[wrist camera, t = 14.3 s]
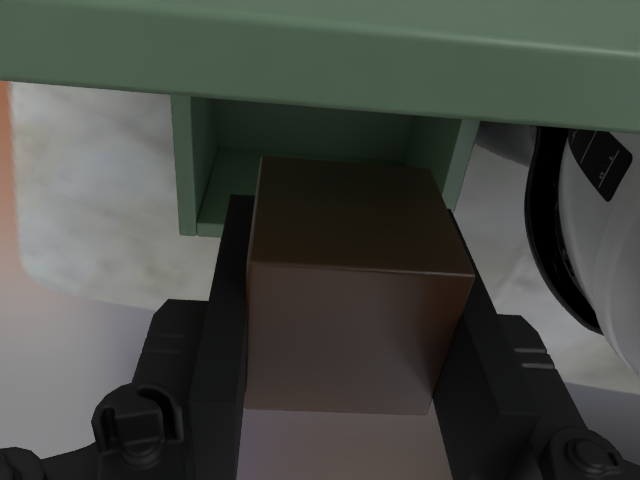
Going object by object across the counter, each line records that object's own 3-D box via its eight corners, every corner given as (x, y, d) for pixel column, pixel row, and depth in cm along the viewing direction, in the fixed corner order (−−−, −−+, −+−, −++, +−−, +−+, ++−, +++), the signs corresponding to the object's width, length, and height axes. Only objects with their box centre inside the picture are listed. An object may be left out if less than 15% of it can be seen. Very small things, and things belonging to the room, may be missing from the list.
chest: (411, 167, 33) (442, 252, 26) (206, 151, 32) (179, 235, 25) (474, -114, 24) (546, -104, 17) (198, -148, 23) (153, -152, 16)
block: (260, 153, 13) (246, 261, 10) (431, 167, 14) (478, 275, 10) (255, 286, 16) (242, 410, 12) (399, 294, 16) (427, 417, 13)
